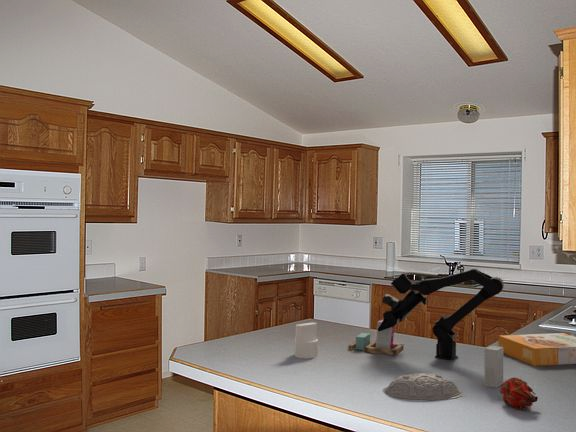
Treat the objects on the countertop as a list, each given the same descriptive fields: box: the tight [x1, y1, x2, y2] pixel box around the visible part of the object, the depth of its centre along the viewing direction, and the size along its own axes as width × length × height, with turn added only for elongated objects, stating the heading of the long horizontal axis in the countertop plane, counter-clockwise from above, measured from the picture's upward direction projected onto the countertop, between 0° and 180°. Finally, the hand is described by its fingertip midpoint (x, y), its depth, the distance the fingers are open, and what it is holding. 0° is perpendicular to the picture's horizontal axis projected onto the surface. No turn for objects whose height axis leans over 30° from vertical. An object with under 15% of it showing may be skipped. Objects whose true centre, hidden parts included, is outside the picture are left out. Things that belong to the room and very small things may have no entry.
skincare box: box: [483, 344, 504, 389], centre depth 179 cm, size 6×4×12 cm
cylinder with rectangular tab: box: [294, 321, 319, 359], centre depth 215 cm, size 9×9×12 cm
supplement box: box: [375, 319, 395, 349], centre depth 224 cm, size 6×6×12 cm
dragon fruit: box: [499, 377, 539, 411], centre depth 159 cm, size 8×8×12 cm
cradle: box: [347, 340, 405, 356], centre depth 226 cm, size 19×12×2 cm, turn 65°
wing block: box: [355, 332, 371, 351], centre depth 228 cm, size 8×4×5 cm, turn 155°
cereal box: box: [498, 332, 576, 367], centre depth 218 cm, size 22×6×30 cm
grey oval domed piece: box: [382, 372, 464, 402], centre depth 171 cm, size 16×25×7 cm, turn 95°
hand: (381, 328), depth 225 cm, fingers open, 8 cm apart
